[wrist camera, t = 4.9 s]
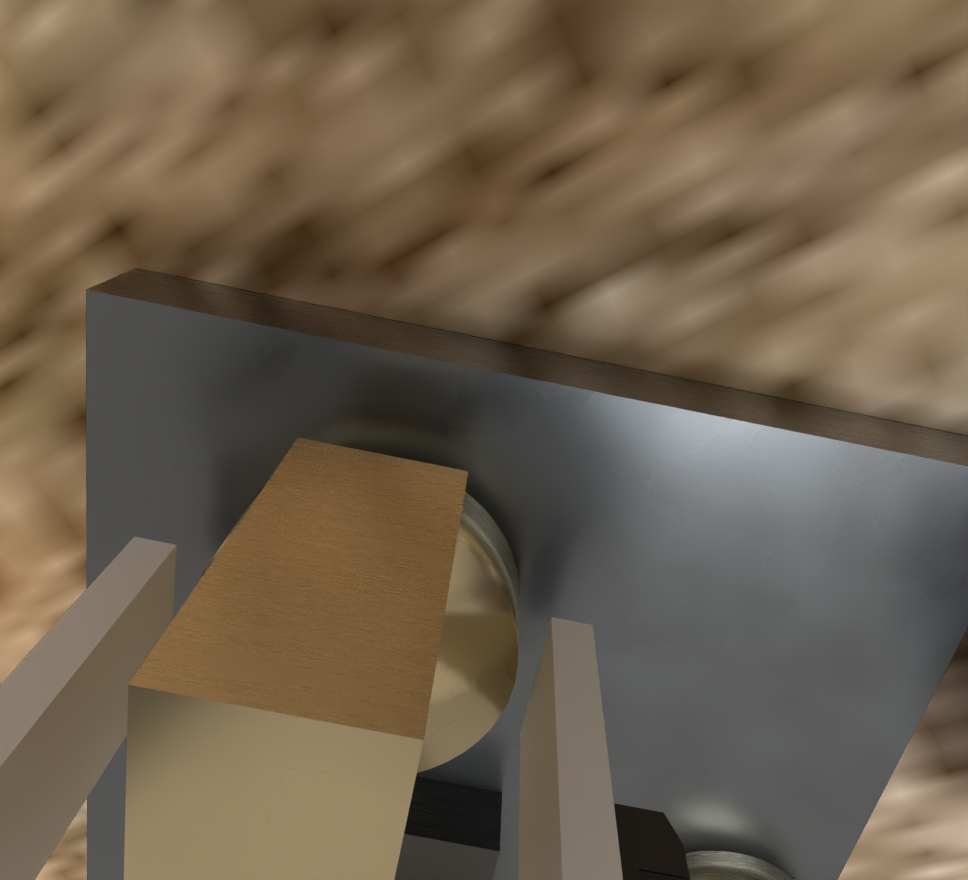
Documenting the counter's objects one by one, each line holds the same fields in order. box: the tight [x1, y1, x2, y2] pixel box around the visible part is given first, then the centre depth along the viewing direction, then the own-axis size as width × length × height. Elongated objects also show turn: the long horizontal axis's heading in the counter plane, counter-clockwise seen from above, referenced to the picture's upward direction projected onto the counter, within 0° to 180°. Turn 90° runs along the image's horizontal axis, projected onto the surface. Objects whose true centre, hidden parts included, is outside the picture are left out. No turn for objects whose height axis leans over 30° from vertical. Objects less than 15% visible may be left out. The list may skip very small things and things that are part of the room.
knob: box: [124, 438, 519, 880], centre depth 13 cm, size 8×6×9 cm
